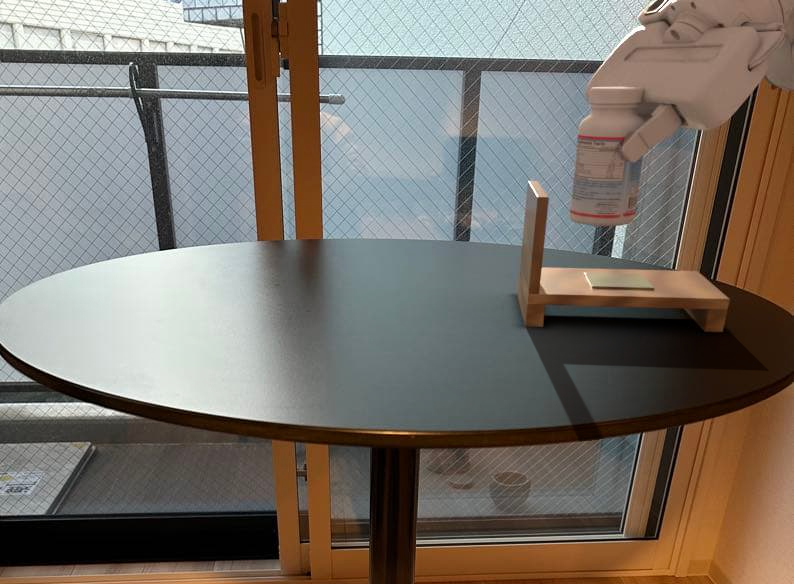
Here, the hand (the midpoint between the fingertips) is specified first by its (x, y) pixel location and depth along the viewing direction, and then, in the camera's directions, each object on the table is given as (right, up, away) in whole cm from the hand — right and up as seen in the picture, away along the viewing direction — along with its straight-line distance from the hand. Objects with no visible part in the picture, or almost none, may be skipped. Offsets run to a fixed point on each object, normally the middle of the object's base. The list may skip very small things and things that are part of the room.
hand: (603, 152), depth 74 cm
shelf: (+7, -8, +23) cm, 26 cm away
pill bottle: (+1, -5, +3) cm, 6 cm away
